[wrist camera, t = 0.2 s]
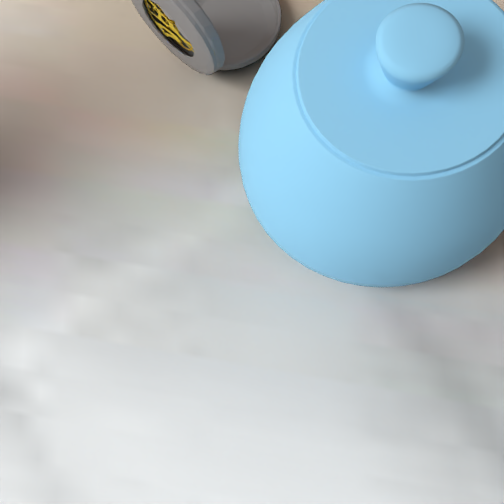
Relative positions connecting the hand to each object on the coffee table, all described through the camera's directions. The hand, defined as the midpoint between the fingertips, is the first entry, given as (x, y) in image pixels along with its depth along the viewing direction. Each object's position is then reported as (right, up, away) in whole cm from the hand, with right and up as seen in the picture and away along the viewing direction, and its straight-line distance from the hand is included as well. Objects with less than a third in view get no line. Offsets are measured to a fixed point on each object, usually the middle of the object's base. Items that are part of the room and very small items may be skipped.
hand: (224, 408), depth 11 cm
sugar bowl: (+8, +9, +17) cm, 21 cm away
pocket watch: (-2, +17, +20) cm, 26 cm away
